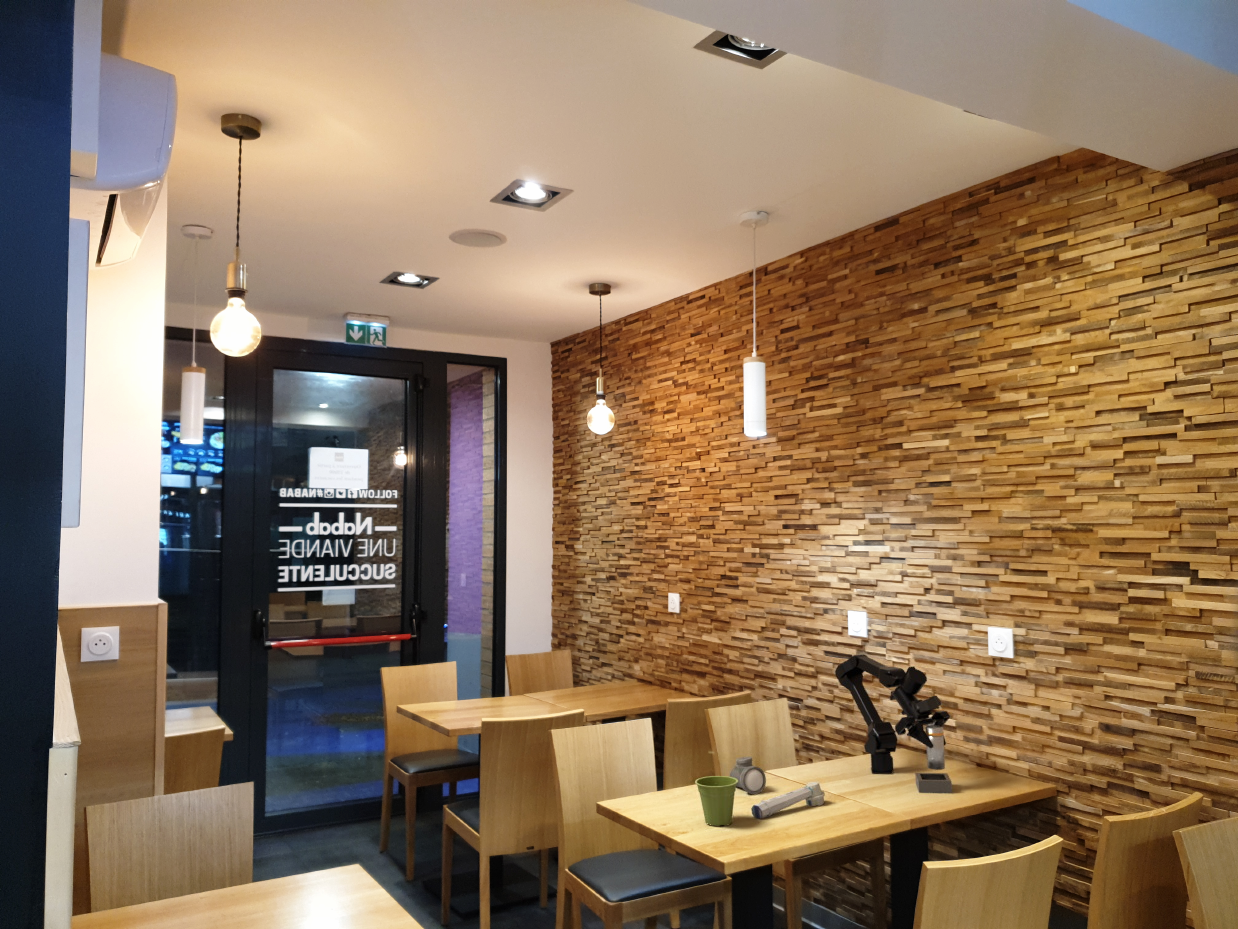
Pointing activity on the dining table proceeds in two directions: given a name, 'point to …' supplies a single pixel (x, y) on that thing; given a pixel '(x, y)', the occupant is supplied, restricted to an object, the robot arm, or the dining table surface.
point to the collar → (933, 783)
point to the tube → (935, 748)
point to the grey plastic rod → (789, 800)
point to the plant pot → (717, 798)
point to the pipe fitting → (748, 776)
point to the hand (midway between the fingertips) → (938, 746)
